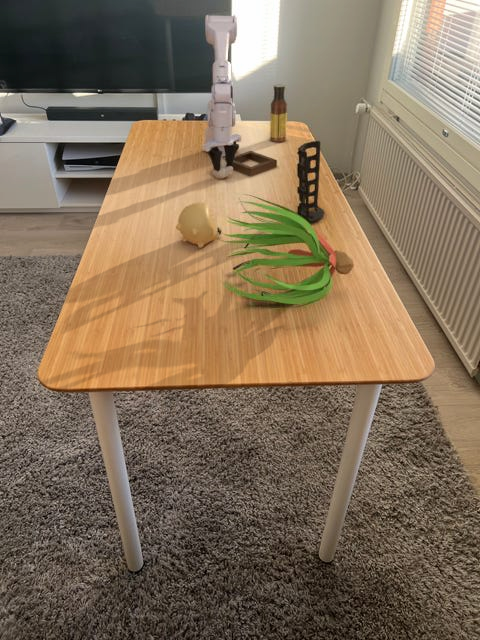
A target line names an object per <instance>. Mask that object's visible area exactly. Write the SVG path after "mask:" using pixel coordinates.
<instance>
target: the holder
mask: <svg viewBox="0 0 480 640" xmlns="http://www.w3.org/2000/svg"><path fill="white" fill-rule="evenodd" d="M312 148H314V149H315V154H313V155H308V152H307V151H306V150H308V149H312ZM296 154H297V155H298V162H297V163H296V173H297V175H296V176H297V178H298V186H297V187H296V188H297V189H296V191H297V193H298V201H299V202H298V205H297V206H296V207H297V214H299V215H300V216H302V217H303V218H304V219H306V220H307V221H308V222H309V223H310V225H312V224H315V223H317V222H318V221H321V220H322V219H323V218H324V216H325V211H324V209H323V208H321V207H320V206H319V205H318V203H319V201H318V199H319V187H320V165H321V140H314V141H309V142H305V143H302V144H301V145H300V146H299V147H298V148H297V153H296ZM313 161H315V165H314V167H312V166H311V163H312V162H313ZM313 173H314V178H313V179H310V180H309V174H313ZM312 185H314V190H312V191H311V186H312ZM310 197H313V201H312V202H310V200H309V198H310ZM310 209H314V210H310Z"/></svg>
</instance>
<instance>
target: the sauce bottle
mask: <svg viewBox="0 0 480 640" xmlns="http://www.w3.org/2000/svg"><path fill="white" fill-rule="evenodd" d="M285 90H286V86H285V85H284V84H282V83H281V84H279V83H278V84H274V85H273V99H272V101H271V103H270V120H269V121H270V122H269V123H270V124H269V126H270V129H269V137H270V140H271V141H272V142H276V143H283V142H285V141H286V139H287V127H288V126H287V124H288V104H287V101H286V98H285Z"/></svg>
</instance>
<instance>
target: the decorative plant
mask: <svg viewBox="0 0 480 640" xmlns="http://www.w3.org/2000/svg"><path fill="white" fill-rule="evenodd" d="M243 195H244V196H248V197H253V198H254V199H255V198H256V199H258V200H260V201H262V202H265V203H267V204H270V205H267V204H263V203H260V202H259V203H258V202H253V201H243V200H241V199H240V196H239V197H238V200H239V202H238V201H237V203H236V204H235V205H237V204H238V203H239V204H240V203H241V206H242V208H243V209H244V211H242V212H241V214H247V215H249V216H250V217H252V218H253V219H255V220H257V221H260V222H252V223H251V222H246V221H241V220H238V219H233V218H231V217H229V216H228V215H226V217H227V218H228V219H229V220H228V219H227V218H224V220H226V222H228V223H230V224H232V225H236V226H238V227H244V228H246V229H244V230H243V232H245V231H249V230H250V231H251V230H255V231H259V232H260V233H235V234H227V233H224V232H223V231H222V230H221V233H222V234H223V235H224V236H226V237H229V238H235V239H239V240H223V239H220V241H221V242H222V243H229V244H245V246H240V247H239V246H238V247H235V248H228V249H225V248H224V249H223V248H222V249H221V250H223V251H229V250H230V251H231V250H238V249H244V250H238V251H235V252H231V253H227V254H225V256H226V258H232V257H237V256H245V255H250V254H254V253H255V254H256V253H259V254H261V255H264V256H269V257H280V258H252V259H251V260H247V261H244V262H241V263H239V264H237V265H235V266H233V267H232V270H233V271H234V272H232V273H231V276H232V275H236V274H238V275H239V277H240V278H242V281H246V282H248V283H250V284H251V285H254V286H258V287H260V288H264V289H269V290H270V289H271V290H278V291H284V292H277V293H271V292H267V291H265V290H260V289H253V288H252V289H251V290H252V291H251V290H250V291H251V292H252V293H251V292H247V291H248V289H247V290H245V291H242V290H240V289H238V288H237V287H235V286H234V285H233V284H231V283H230V282H229V281H227V283H228V284H229V285H230V286H231V287H230V286H228V285H227V284H226V283H223V282H222V281H221V280H222V279H220V283H221V284H222V286H224V287H226V289H228V290H229V291H231V292H233V293H235V294H237V295H239V296H243V297H245V298H249V299H253V300H259V301H269V302H270V301H271V302H275V303H274V305H275V304H276V305H277V304H278V303H279V304H288V305H296V306H291V307H289V306H288V307H270V308H269V307H267V309H270V310H287V309H288V310H289V309H296V308H301V307H306V306H309V305H312V304H314V303H317V302H318V301H321V300H322V299H324V297H326V296H327V295H328V294H329V293H330V291H331V289H332V286H333V280H332V277H333V276H334V273H335V271H336V272H337V274H339V275H348V274H350V273H351V271H352V270H353V268H354V267H355V264H354V260H353V259H352V257H350V255H348V254H347V253H346V252H344V251H342V250H337V249H335V250H334V249H333V247H331V245H330V243H328V241H326V239H325V238H324V237H323V236H322V235H321V234H320V233H319V232H318V230H317V229H315V228H314V227H313V226H312V224H310V223H309V222H308V221H307V220H306V219H304V218H303V217H302V216H300V215H299V214H298V212H296V211H293V210H291V209H290V208H288V207H285V206H283V205H280V204H278V203H274V202H272V201H269V200H266V199H263V198H260V197H258V196H255V195H251V194H247V193H243ZM243 203H244V204H250V205H253V206H256V207H259V208H262V209H265V210H268V211H269V212H265V211H254V210H251V211H250V210H247V209H246V208H245V207H244V205H243ZM270 211H271V212H270ZM258 216H259V217H262V218H259V217H258ZM263 218H266V219H269V220H266V219H263ZM230 220H231V221H230ZM271 220H272V221H271ZM217 237H218V236H217ZM218 238H219V237H218ZM240 239H241V240H240ZM290 244H305V245H306V246H307V247H308V249H309V251H308V250H303V249H298V248H297V249H296V248H295V249H290V250H288V251H287V252H283V251H281V252H280V251H272V250H270V249H267V248H265V247H275V246H281V245H290ZM249 245H250V246H249ZM216 246H217V248H219V247H218V245H216ZM246 249H247V250H246ZM257 266H262V267H266V268H262V267H261V268H260V267H259V268H256V269H254V273H255V272H257V271H258V270H262V269H265V270H266V269H267V267H271V268H270V270H275V269H281V268H282V269H283V267H290V268H293V267H294V268H295V267H304V268H320V267H322V268H320V269H319V270H318V271H316V273H315V274H312V275H311V276H309V277H307V278H305V279H303V280H302V281H299V282H296V283H286V282H283V281H280V280H278V279H275V278H273V277H271V276H270V275H268V274H267V273H266V274H265V273H263V277H266V278H268V279H270V280H271V281H273V282H275V283H276V284H270V283H263V282H260V281H256V280H253V279H251V278H249V276H247V275H246V274H245V270H248V269H251V268H254V267H257ZM272 267H273V268H272ZM240 272H243V274H244V275H243V274H241V273H240ZM285 290H286V291H285ZM253 291H257V292H259V293H253ZM216 293H218V291H216ZM298 304H299V305H298ZM255 305H256V304H254V303H252V306H253V307H254V308H255ZM263 305H267V303H264V304H263ZM256 308H259V309H260V307H258V306H257V307H256Z"/></svg>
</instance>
